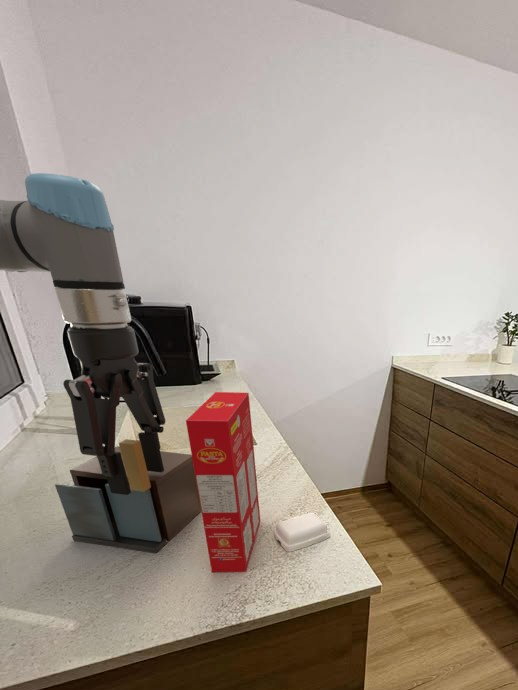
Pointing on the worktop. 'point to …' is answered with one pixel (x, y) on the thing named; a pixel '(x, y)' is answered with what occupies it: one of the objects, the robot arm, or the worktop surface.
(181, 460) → the cabinet
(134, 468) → the grey door panel
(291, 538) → the soap
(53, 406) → the worktop surface
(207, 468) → the food packaging
